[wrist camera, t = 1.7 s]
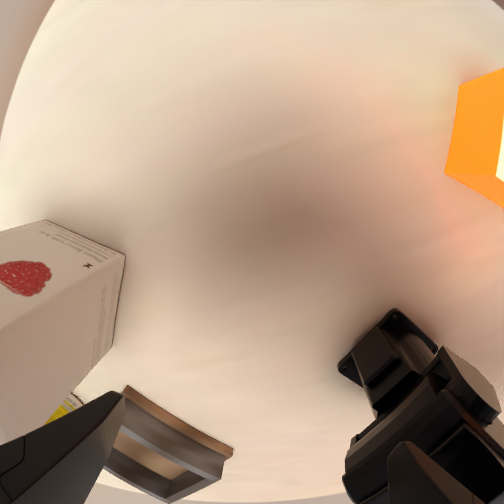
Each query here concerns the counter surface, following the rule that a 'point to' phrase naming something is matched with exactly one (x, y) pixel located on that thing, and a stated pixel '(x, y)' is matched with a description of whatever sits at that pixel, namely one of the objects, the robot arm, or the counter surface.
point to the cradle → (163, 452)
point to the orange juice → (479, 137)
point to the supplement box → (51, 319)
